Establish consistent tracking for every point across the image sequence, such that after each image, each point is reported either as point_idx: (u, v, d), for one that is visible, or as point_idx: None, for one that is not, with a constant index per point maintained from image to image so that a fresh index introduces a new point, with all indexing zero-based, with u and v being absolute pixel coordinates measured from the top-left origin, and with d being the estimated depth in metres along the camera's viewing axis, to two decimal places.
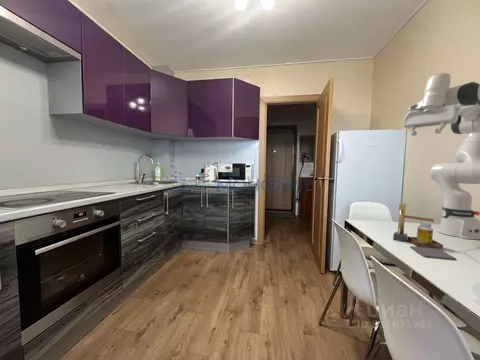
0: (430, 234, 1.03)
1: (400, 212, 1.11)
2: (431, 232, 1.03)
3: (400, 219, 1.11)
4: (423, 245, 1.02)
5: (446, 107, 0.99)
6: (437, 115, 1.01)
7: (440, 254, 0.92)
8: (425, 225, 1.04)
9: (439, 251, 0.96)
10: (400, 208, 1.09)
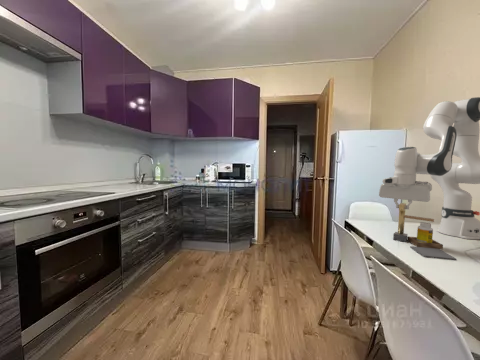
0: (430, 234, 1.03)
1: (400, 212, 1.11)
2: (431, 232, 1.03)
3: (400, 219, 1.11)
4: (423, 245, 1.02)
5: (420, 187, 1.05)
6: (412, 193, 1.07)
7: (440, 254, 0.92)
8: (425, 225, 1.04)
9: (439, 251, 0.96)
10: (400, 208, 1.09)
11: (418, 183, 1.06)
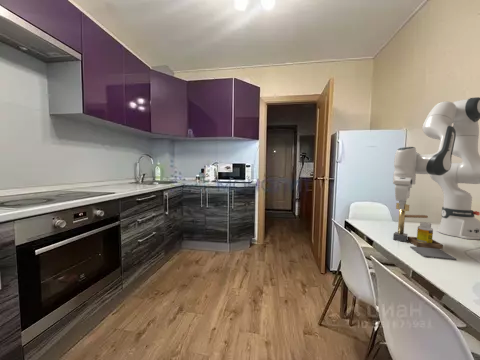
0: (430, 234, 1.03)
1: (402, 212, 1.10)
2: (431, 232, 1.03)
3: (402, 219, 1.10)
4: (423, 245, 1.02)
5: None
6: (408, 192, 1.12)
7: (440, 254, 0.92)
8: (425, 225, 1.04)
9: (439, 251, 0.96)
10: (406, 209, 1.08)
11: None
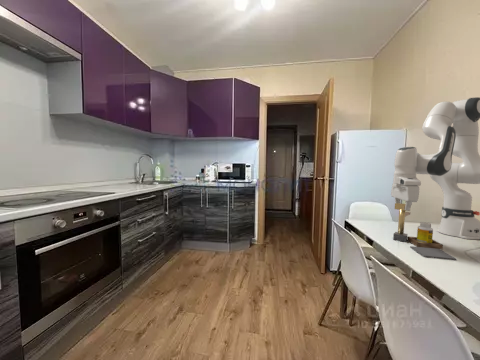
0: (430, 234, 1.03)
1: (404, 212, 1.10)
2: (431, 232, 1.03)
3: (404, 219, 1.10)
4: (423, 245, 1.02)
5: None
6: None
7: (440, 254, 0.92)
8: (425, 225, 1.04)
9: (439, 251, 0.96)
10: None
11: None
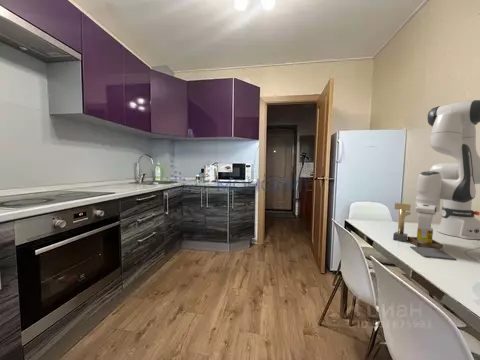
0: (430, 234, 1.03)
1: (404, 212, 1.10)
2: (431, 232, 1.03)
3: (404, 219, 1.10)
4: (423, 245, 1.02)
5: None
6: None
7: (440, 254, 0.92)
8: None
9: (439, 251, 0.96)
10: (409, 208, 1.08)
11: None
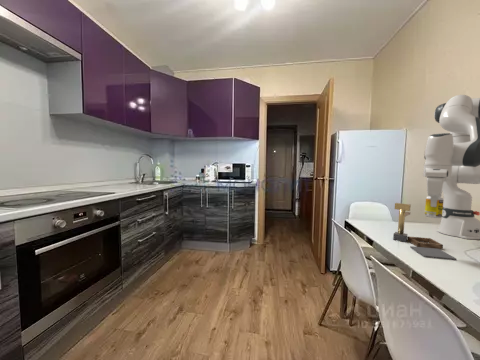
0: (440, 204, 0.91)
1: (404, 212, 1.10)
2: (441, 202, 0.92)
3: (404, 219, 1.10)
4: (423, 245, 1.02)
5: None
6: None
7: (440, 254, 0.92)
8: None
9: (439, 251, 0.96)
10: (409, 208, 1.08)
11: None
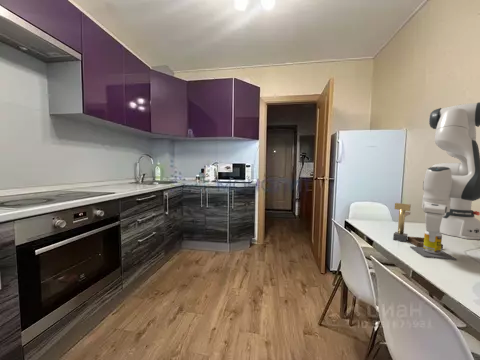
0: (439, 240, 0.92)
1: (404, 212, 1.10)
2: (440, 238, 0.92)
3: (404, 219, 1.10)
4: (423, 245, 1.02)
5: None
6: None
7: (440, 254, 0.92)
8: None
9: None
10: (409, 208, 1.08)
11: None
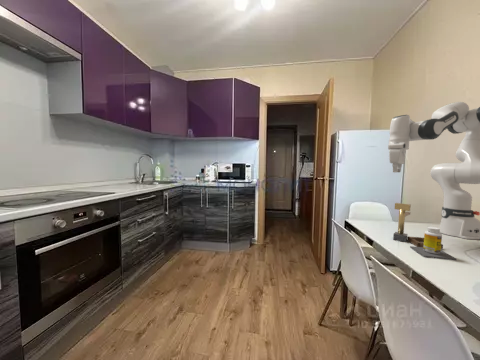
0: (439, 240, 0.92)
1: (404, 212, 1.10)
2: (440, 238, 0.92)
3: (404, 219, 1.10)
4: (423, 245, 1.02)
5: None
6: (402, 157, 1.22)
7: (440, 254, 0.92)
8: (433, 230, 0.93)
9: None
10: (409, 208, 1.08)
11: None
